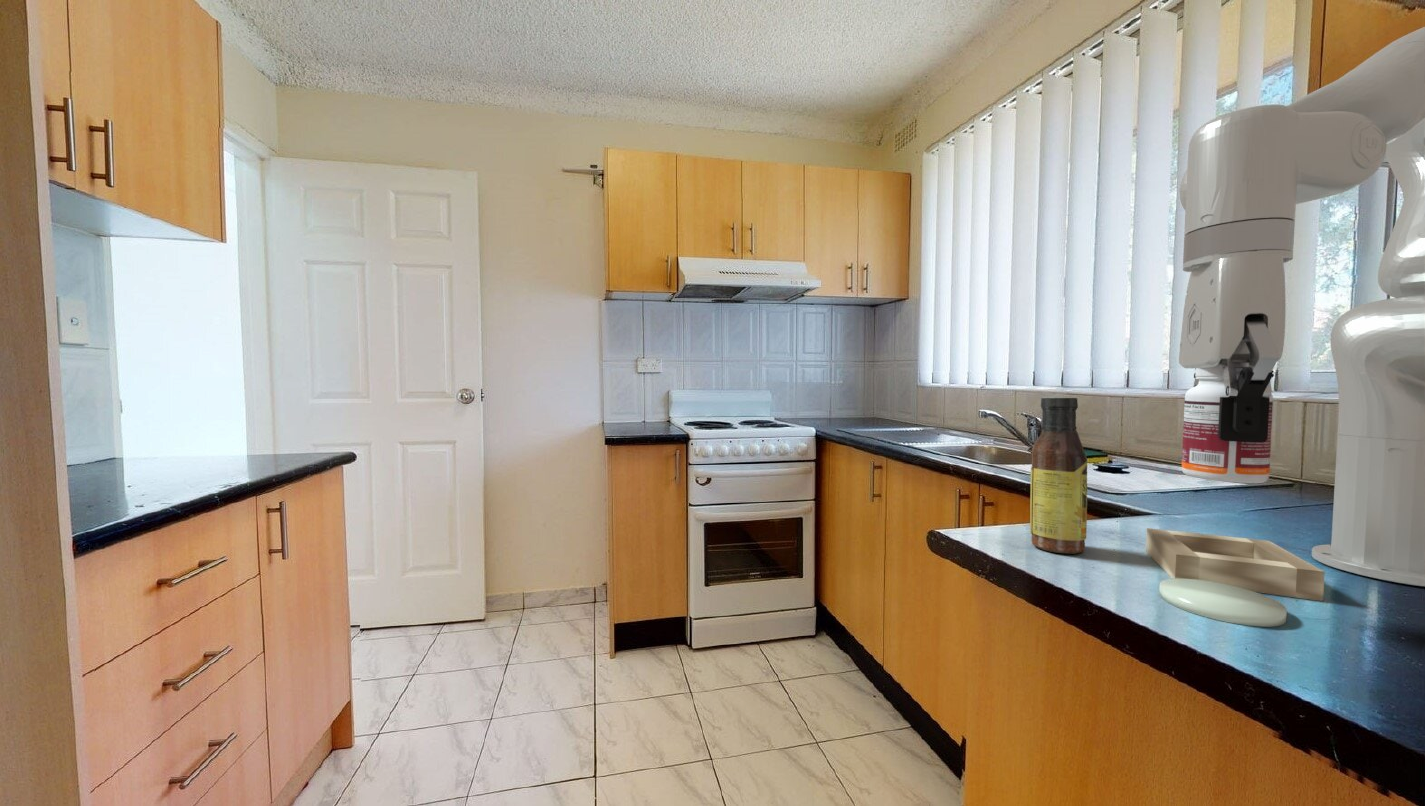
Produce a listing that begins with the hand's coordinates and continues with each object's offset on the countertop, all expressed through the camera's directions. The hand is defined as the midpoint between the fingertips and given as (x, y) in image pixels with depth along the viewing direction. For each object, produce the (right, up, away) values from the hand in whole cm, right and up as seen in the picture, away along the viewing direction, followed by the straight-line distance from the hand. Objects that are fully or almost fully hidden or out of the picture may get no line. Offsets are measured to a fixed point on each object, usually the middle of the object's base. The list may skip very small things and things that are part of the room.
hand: (1226, 436), depth 52 cm
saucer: (0, -17, +1) cm, 17 cm away
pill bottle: (0, -4, 0) cm, 4 cm away
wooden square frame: (+9, -16, +10) cm, 21 cm away
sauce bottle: (-4, -16, +19) cm, 25 cm away
